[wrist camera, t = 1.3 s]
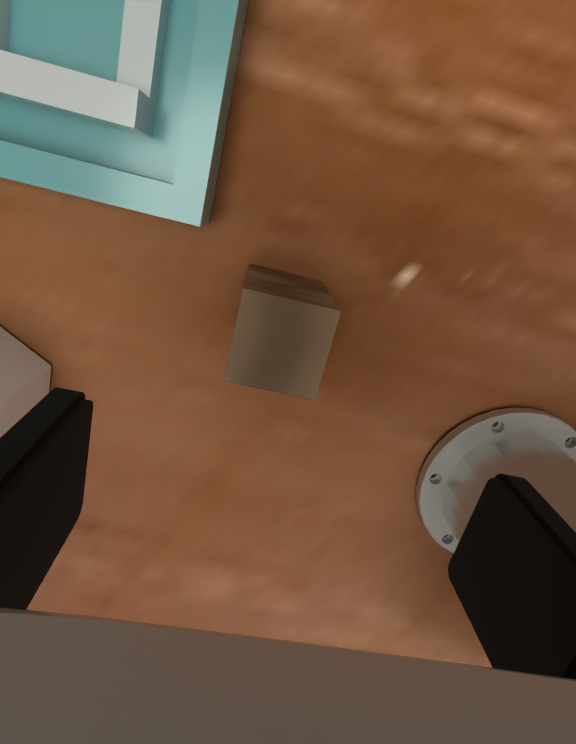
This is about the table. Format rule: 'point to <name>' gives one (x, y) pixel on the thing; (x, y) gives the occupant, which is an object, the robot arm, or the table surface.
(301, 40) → the table surface
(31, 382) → the jar
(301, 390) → the brown wooden block
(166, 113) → the candle dish
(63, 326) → the table surface
